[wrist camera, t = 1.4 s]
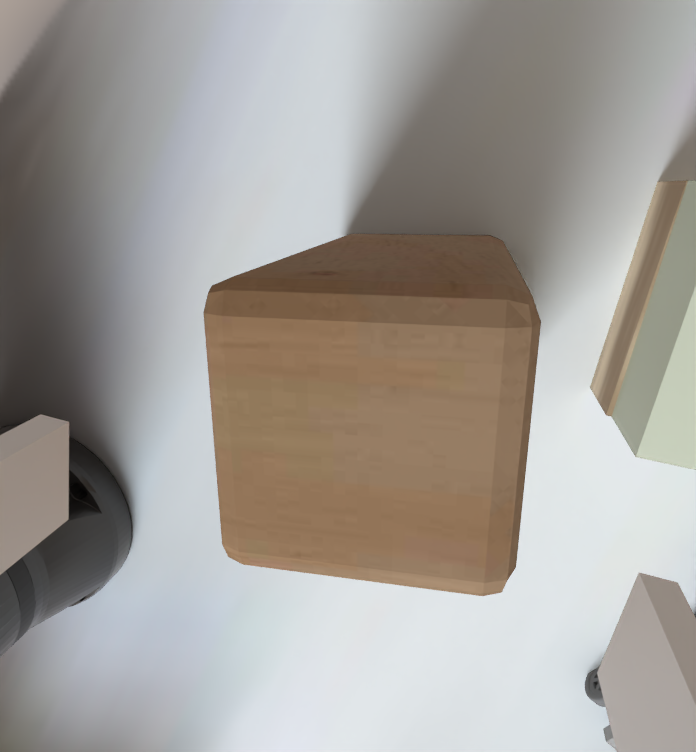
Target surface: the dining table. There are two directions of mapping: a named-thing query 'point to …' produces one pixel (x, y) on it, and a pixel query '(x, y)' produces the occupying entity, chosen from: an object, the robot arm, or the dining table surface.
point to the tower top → (666, 356)
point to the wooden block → (375, 410)
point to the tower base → (636, 293)
